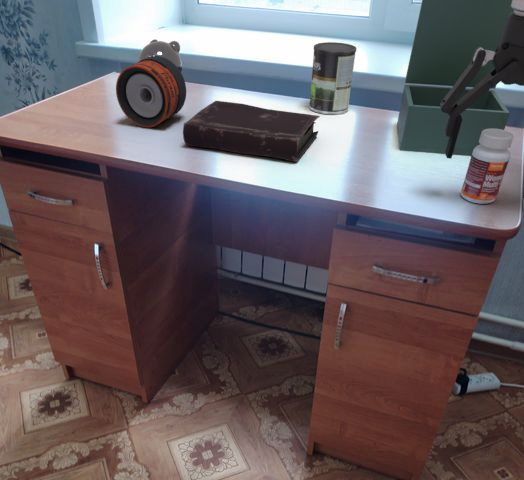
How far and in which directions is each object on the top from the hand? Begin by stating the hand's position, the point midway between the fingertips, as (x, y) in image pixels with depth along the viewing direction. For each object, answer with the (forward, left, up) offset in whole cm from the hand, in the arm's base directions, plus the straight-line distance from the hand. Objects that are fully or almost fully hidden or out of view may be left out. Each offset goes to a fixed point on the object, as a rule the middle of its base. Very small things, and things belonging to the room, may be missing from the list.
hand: (488, 159), depth 87 cm
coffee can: (+30, -48, -7) cm, 57 cm away
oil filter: (+70, -29, -7) cm, 76 cm away
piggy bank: (+77, -56, -7) cm, 95 cm away
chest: (+3, -30, -7) cm, 31 cm away
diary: (+45, -20, -7) cm, 49 cm away
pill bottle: (0, 0, -7) cm, 7 cm away
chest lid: (+3, -36, +11) cm, 38 cm away
